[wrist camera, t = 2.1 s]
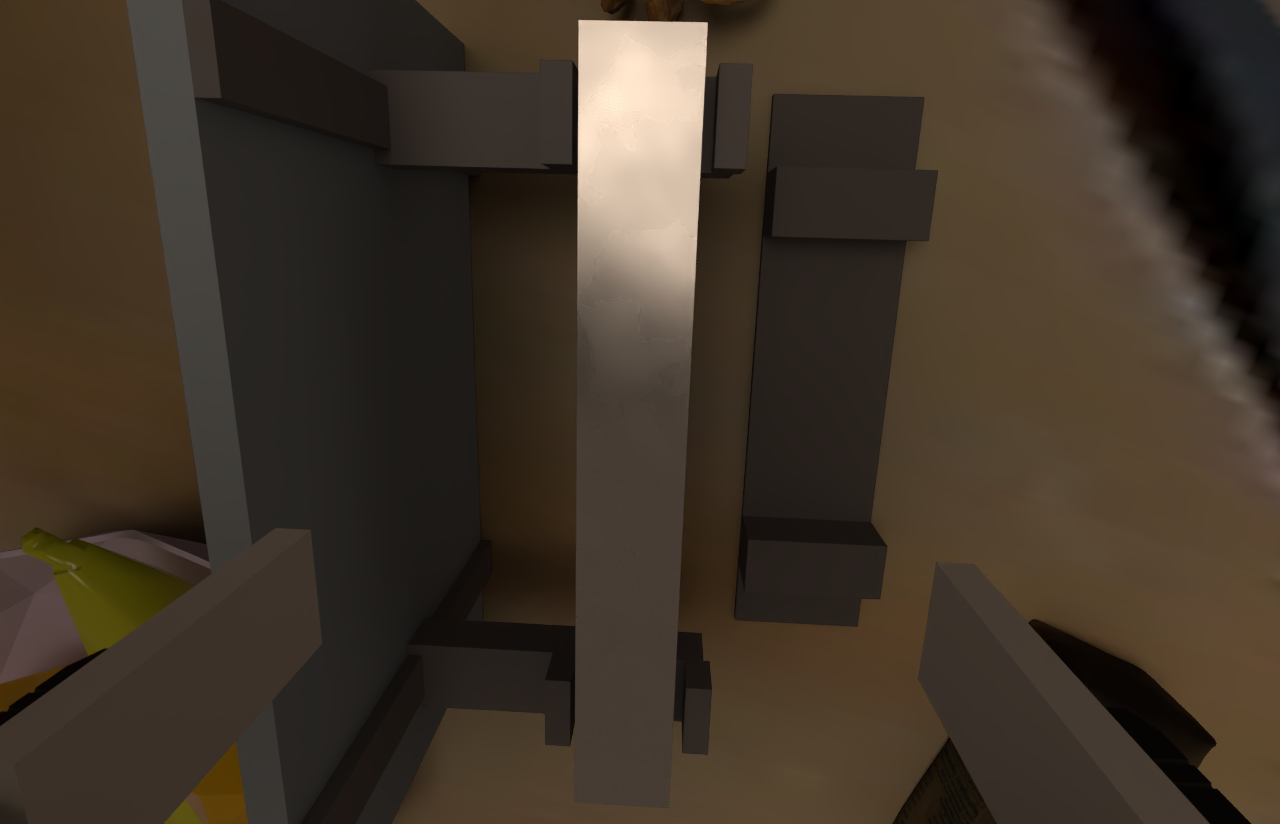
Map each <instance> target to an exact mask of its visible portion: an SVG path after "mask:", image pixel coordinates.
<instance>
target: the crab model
mask: <svg viewBox="0 0 1280 824" xmlns="http://www.w3.org/2000/svg"><path fill="white" fill-rule="evenodd" d="M628 1H629V0H601V6H602V8H603V11H604V12H608V13H609V14H614V13H616V12H618V11H619V10H620V9H621V8H622V7H624V6H625V4H626V3H627V2H628ZM700 1H702V2H704V3H706V4H714V5H728V4H731V3H739V2H744V1H749V0H700ZM682 3H683V1H681V0H675V1H674V2H672V3H671V0H646V4H647V12H648V17H649V21H654V22H674V21H675V20H676V18H677V17H678V15H679V13H680V12H681V8H682Z"/></svg>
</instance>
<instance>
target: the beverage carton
mask: <svg viewBox="0 0 1280 824" xmlns="http://www.w3.org/2000/svg"><path fill="white" fill-rule="evenodd" d="M1030 626H1031V627H1032V628H1033V629H1034V630H1035V632H1036V633H1037V634H1038V635H1039V636H1040V637H1041V638H1042V639H1043V640H1044V641H1045V643H1046V644H1047V645H1048V646H1049V647H1050V648H1051V649H1052V650H1053V651H1054V652H1055V654H1056V655H1057V656H1058V657H1059V658H1060V659H1061V660H1062V661H1063V662H1064V664H1065V665H1066V666H1067V667H1068V668H1069V669H1070V670H1071V671H1072V672H1073V673H1074V675H1075V676H1076V677H1077V678H1078V679H1079V680H1080V681H1081V682H1082V683H1083V684H1084V686H1085V687H1086V688H1087V689H1088V690H1089V691H1090V692H1091V693H1092V694H1093V695H1094V697H1095V698H1096V699H1097V700H1098V701H1099V702H1100V703H1101V704H1102V705H1103V706H1104V707H1112V708H1126V709H1127V710H1129V711H1130V712H1132V713H1133V714H1135V715H1136V716H1138V717H1139V718H1141V719H1142V720H1144V721H1145V722H1147V723H1148V724H1150V725H1151V726H1153V727H1154V728H1156V729H1157V730H1159V731H1161V732H1162V733H1163V734H1164V735H1165V736H1166V737H1167V738H1168V739H1169V740H1170V741H1171V742H1172V743H1173V744H1174V745H1175V746H1176V747H1177V748H1178V749H1179V750H1180V751H1181V752H1182V754H1183V755H1184V756H1185V757H1186V758H1187V759H1188V760H1189V764H1190V765H1194V766H1195V767H1196V768H1198V767H1199V766H1200V764H1201V762H1202V760H1203V759H1204V757H1205V756H1206V755H1207V753H1208V752H1209V751H1210V750H1211V749H1212V748H1213V747H1214V746H1216V744H1217V743H1216V741H1215V739H1214V738H1213V737H1212V736H1211V735H1210V734H1209V733H1208V732H1207V731H1206V730H1205V729H1204V728H1203V727H1202V726H1201V725H1200V724H1199V723H1198V722H1197V721H1196V719H1195V718H1194V717H1193V716H1192V715H1191V714H1190V713H1188V712H1187V711H1186V710H1185V709H1184V708H1183V707H1182V706H1181V705H1180V704H1179V703H1178V702H1177V701H1176V700H1175V699H1174V698H1173V697H1172V696H1171V695H1170V694H1169V693H1167V692H1166V691H1165V690H1164V689H1163V688H1162V687H1161V686H1160V685H1159V684H1158V683H1157V682H1156V681H1155V680H1154V679H1153V678H1152V677H1150V676H1149V675H1148V674H1147V673H1146V672H1145V671H1143V670H1142V669H1140V668H1138V667H1136V666H1134V665H1132V664H1130V663H1128V662H1125V661H1123V660H1121V659H1118V658H1116V657H1114V656H1112V655H1110V654H1108V653H1106V652H1104V651H1101V650H1099V649H1097V648H1095V647H1093V646H1091V645H1089V644H1087V643H1085V642H1083V641H1081V640H1079V639H1076V638H1074V637H1072V636H1070V635H1068V634H1066V633H1064V632H1062V631H1059V630H1057V629H1055V628H1053V627H1051V626H1049V625H1047V624H1045V623H1043V622H1040V621H1038V620H1033V621H1032V622H1031V623H1030ZM893 824H997V823H996V821H995V819H994V818H993V816H992V814H991V812H990V810H989V808H988V807H987V805H986V803H985V801H984V799H983V797H982V796H981V794H980V792H979V790H978V788H977V786H976V785H975V783H974V781H973V779H972V777H971V775H970V773H969V772H968V770H967V768H966V766H965V764H964V762H963V761H962V759H961V757H960V755H959V753H958V751H957V750H956V748H955V746H954V744H953V742H952V740H951V739H950V740H949V741H948V742H947V744H946V745H945V747H944V748H943V750H942V751H941V753H940V754H939V756H938V757H937V759H936V760H935V762H934V763H933V764H932V766H931V767H930V769H929V770H928V771H927V773H926V774H925V776H924V777H923V778H922V780H921V781H920V783H919V784H918V785H917V787H916V788H915V790H914V792H913V793H912V795H911V796H910V797H909V799H908V800H907V802H906V803H905V804H904V806H903V807H902V809H901V811H900V812H899V814H898V816H897V817H896V819H895V821H894V822H893Z"/></svg>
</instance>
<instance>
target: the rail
mask: <svg viewBox="0 0 1280 824" xmlns="http://www.w3.org/2000/svg"><path fill="white" fill-rule="evenodd" d="M707 28H708V22H654V21H597V20H579V77H578V261H577V446H576V631H575V802H583V803H599V804H614V805H630V806H645V807H660V808H669V797H670V776H671V756H672V736H673V716H674V696H675V675H676V655H677V635H678V615H679V594H680V574H681V554H682V534H683V513H684V493H685V473H686V453H687V433H688V412H689V392H690V372H691V352H692V331H693V311H694V291H695V271H696V250H697V230H698V210H699V190H700V170H701V149H702V129H703V109H704V89H705V68H706V48H707Z"/></svg>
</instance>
